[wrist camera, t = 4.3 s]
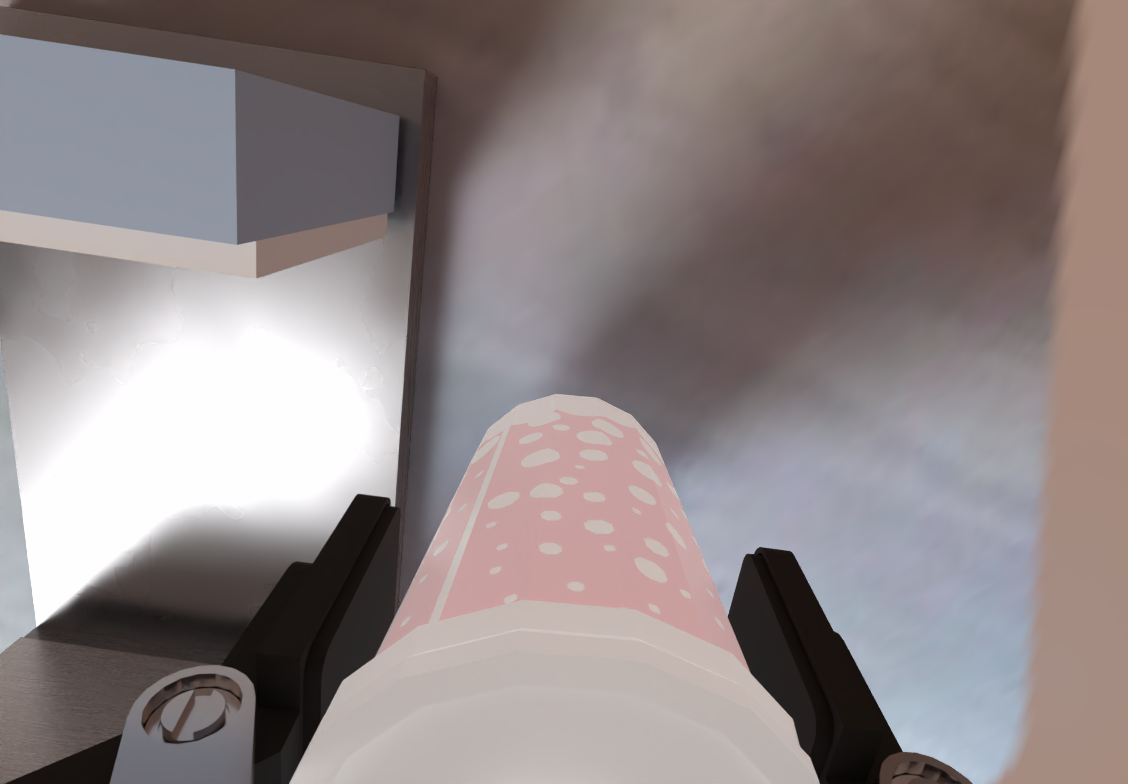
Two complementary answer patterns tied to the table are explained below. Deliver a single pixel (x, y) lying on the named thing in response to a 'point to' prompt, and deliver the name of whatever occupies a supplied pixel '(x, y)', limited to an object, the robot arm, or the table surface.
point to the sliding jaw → (184, 162)
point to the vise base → (195, 419)
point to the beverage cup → (559, 632)
